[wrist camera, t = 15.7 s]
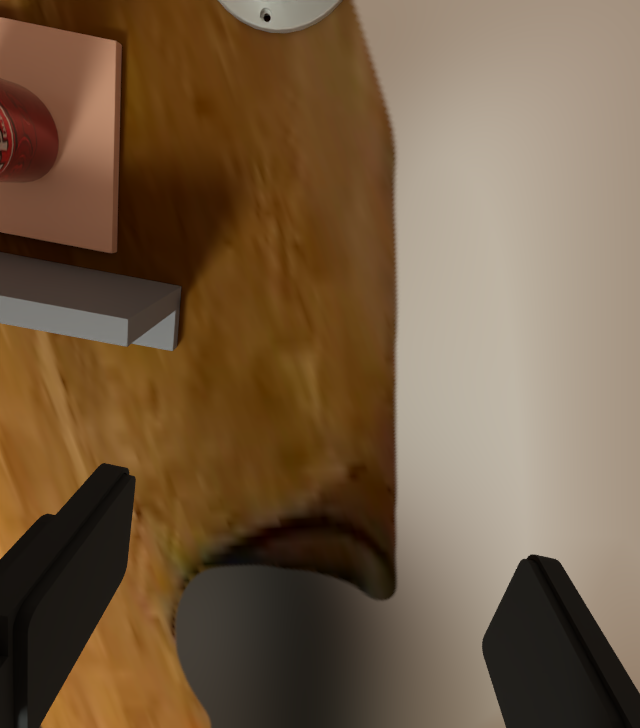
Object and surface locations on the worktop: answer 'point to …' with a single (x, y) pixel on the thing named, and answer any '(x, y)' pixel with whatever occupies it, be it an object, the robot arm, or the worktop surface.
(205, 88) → the worktop surface
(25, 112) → the soda can
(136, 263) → the worktop surface
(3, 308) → the screen
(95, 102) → the tile
